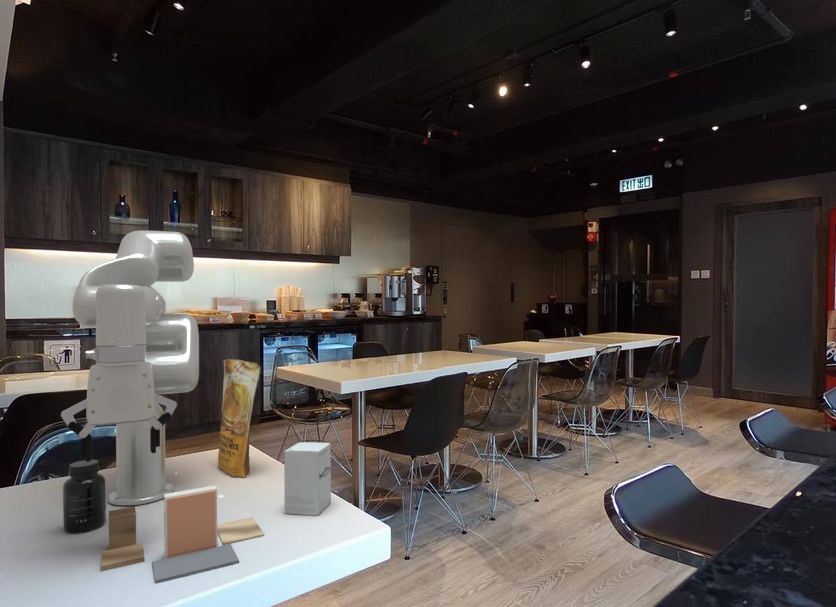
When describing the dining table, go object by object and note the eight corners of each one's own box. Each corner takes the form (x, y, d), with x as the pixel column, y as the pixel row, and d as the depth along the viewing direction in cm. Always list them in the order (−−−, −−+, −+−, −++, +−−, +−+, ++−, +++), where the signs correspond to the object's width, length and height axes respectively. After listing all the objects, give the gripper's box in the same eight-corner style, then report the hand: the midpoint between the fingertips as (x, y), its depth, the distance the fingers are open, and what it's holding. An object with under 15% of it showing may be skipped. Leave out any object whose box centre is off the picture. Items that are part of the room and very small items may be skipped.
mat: (152, 564, 83) (152, 561, 83) (230, 546, 90) (230, 543, 90) (155, 583, 77) (155, 580, 77) (239, 562, 83) (239, 560, 83)
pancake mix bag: (236, 459, 143) (235, 357, 144) (264, 475, 128) (263, 361, 129) (211, 464, 139) (210, 359, 139) (236, 481, 124) (235, 363, 125)
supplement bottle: (67, 523, 101) (67, 460, 101) (108, 517, 103) (108, 456, 104) (59, 537, 94) (58, 470, 95) (102, 530, 97) (102, 465, 97)
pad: (214, 526, 98) (214, 525, 98) (252, 518, 101) (252, 517, 101) (223, 544, 90) (223, 543, 90) (264, 535, 94) (264, 533, 94)
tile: (164, 554, 87) (164, 494, 87) (215, 543, 91) (215, 485, 91) (165, 560, 85) (165, 498, 85) (217, 548, 89) (217, 489, 89)
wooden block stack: (102, 547, 90) (102, 512, 90) (141, 539, 93) (141, 505, 93) (101, 571, 81) (100, 532, 82) (144, 561, 84) (144, 524, 85)
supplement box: (318, 516, 102) (317, 451, 102) (283, 514, 104) (282, 450, 104) (332, 502, 109) (331, 442, 110) (299, 500, 111) (298, 441, 111)
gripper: (58, 360, 83) (59, 469, 82) (178, 354, 91) (179, 453, 91) (62, 357, 89) (62, 458, 89) (174, 352, 98) (174, 444, 97)
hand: (121, 455), depth 90 cm, fingers open, 9 cm apart
